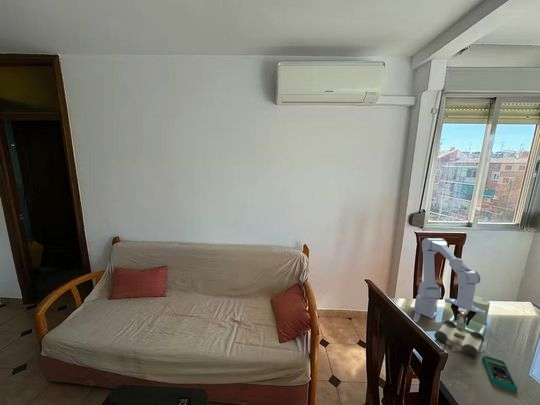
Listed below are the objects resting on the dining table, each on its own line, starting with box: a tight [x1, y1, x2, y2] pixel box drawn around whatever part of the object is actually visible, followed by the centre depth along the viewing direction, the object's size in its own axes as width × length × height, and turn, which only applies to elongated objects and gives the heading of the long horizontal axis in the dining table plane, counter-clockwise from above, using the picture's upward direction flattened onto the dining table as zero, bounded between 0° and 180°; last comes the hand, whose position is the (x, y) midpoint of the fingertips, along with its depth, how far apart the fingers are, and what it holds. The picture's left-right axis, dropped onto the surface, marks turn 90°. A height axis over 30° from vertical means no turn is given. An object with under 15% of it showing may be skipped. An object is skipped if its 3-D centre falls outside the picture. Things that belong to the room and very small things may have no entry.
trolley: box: [433, 319, 485, 359], centre depth 114 cm, size 16×15×5 cm
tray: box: [449, 314, 487, 336], centre depth 123 cm, size 13×11×4 cm
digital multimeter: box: [482, 355, 518, 393], centre depth 97 cm, size 7×15×3 cm, turn 150°
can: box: [465, 295, 491, 325], centre depth 132 cm, size 9×9×12 cm
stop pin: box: [456, 309, 468, 332], centre depth 113 cm, size 4×4×9 cm
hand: (461, 322), depth 113 cm, fingers closed on stop pin, 4 cm apart
